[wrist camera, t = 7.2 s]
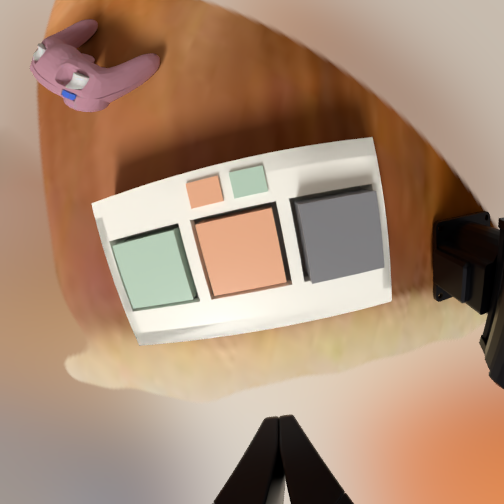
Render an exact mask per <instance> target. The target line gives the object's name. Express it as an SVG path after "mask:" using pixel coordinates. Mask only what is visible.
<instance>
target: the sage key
mask: <svg viewBox="0 0 504 504" xmlns="http://www.w3.org/2000/svg"><path fill="white" fill-rule="evenodd" d="M113 250H114V253H115V256H116V259H117V263H118V266H119V269H120V272H121V275H122V278H123V281H124V284H125V287H126V289H127V292H128V295H129V298H130V301H131V303H132V306H133V309H135V308H142V307H149V306H155V305H162V304H168V303H175V302H181V301H187V300H193V299H194V297H195V296H196V294H197V289H196V286H195V282H194V279H193V276H192V272H191V269H190V265H189V262H188V258H187V254H186V251H185V247H184V244H183V240H182V236H181V232H180V228H179V225H178V226H174V227H170V228H166V229H162V230H158V231H154V232H150V233H146V234H143V235H139V236H135V237H131V238H128V239H125V240H123V241H121V242H119V243H117V244H115V245H113Z"/></svg>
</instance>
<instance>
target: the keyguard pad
mask: <svg viewBox="0 0 504 504" xmlns="http://www.w3.org/2000/svg"><path fill="white" fill-rule="evenodd" d="M360 189H366V190H373V191H376V193H377V200H378V207H379V215H380V223H381V232H382V242H383V253H384V268H380V269H376V270H372V271H368V272H363V273H359V274H355V275H350V276H346V277H342V278H337V279H333V280H328V281H323V282H319V283H314V284H312V282H311V280H310V278H309V276H308V273H307V271H306V265H305V260H304V254H303V248H302V243H301V237H300V232H299V226H298V221H297V216H296V211H295V206H294V201H299V200H304V199H310V198H315V197H320V196H326V195H331V194H337V193H343V192H348V191H354V190H360ZM266 205H271V207H272V212H273V216H274V221H275V226H276V231H277V236H278V241H279V246H280V251H281V256H282V261H283V266H284V271H285V276H286V281H287V282H286V283H281V284H275V285H270V286H265V287H260V288H255V289H249V290H244V291H239V292H233V293H228V294H222V295H216V296H214V293H213V290H212V286H211V282H210V279H209V275H208V272H207V268H206V264H205V261H204V257H203V253H202V250H201V246H200V242H199V238H198V234H197V230H196V226H195V225H196V224H197V223H199V222H200V221H202V220H203V219H207V218H212V217H216V216H220V215H225V214H229V213H234V212H238V211H243V210H247V209H252V208H257V207H261V206H266ZM92 207H93V212H94V216H95V220H96V223H97V227H98V231H99V235H100V238H101V242H102V245H103V249H104V252H105V255H106V258H107V262H108V265H109V268H110V271H111V274H112V277H113V280H114V283H115V286H116V288H117V291H118V294H119V297H120V299H121V302H122V305H123V307H124V310H125V312H126V315H127V317H128V320H129V322H130V325H131V327H132V330H133V332H134V334H135V337H136V339H137V341H138V344H139V346H141V345H153V344H164V343H174V342H183V341H192V340H200V339H208V338H215V337H223V336H229V335H236V334H243V333H249V332H255V331H261V330H267V329H272V328H278V327H283V326H288V325H293V324H298V323H303V322H308V321H313V320H318V319H322V318H327V317H331V316H336V315H340V314H344V313H348V312H352V311H356V310H360V309H364V308H368V307H372V306H376V305H380V304H383V303H387V302H391V301H392V297H391V269H390V253H389V241H388V230H387V221H386V213H385V205H384V198H383V191H382V184H381V178H380V173H379V167H378V162H377V157H376V152H375V147H374V142H373V138H372V137H369V138H360V139H351V140H343V141H336V142H329V143H322V144H315V145H309V146H303V147H297V148H292V149H286V150H281V151H276V152H270V153H266V154H261V155H256V156H251V157H247V158H242V159H238V160H233V161H229V162H225V163H221V164H217V165H213V166H209V167H205V168H201V169H198V170H194V171H190V172H187V173H183V174H179V175H176V176H173V177H169V178H166V179H162V180H159V181H156V182H153V183H149V184H146V185H143V186H140V187H137V188H134V189H131V190H128V191H125V192H122V193H119V194H117V195H114V196H111V197H108V198H105V199H103V200H100V201H97V202H95V203H92ZM178 225H179V228H180V232H181V236H182V240H183V244H184V247H185V251H186V254H187V258H188V262H189V265H190V269H191V272H192V276H193V279H194V282H195V286H196V289H197V294H196V296H195V297H194V299H193V300H187V301H181V302H175V303H168V304H162V305H155V306H149V307H142V308H135V309H133V306H132V303H131V301H130V298H129V295H128V292H127V289H126V287H125V284H124V281H123V278H122V275H121V272H120V269H119V266H118V263H117V259H116V256H115V253H114V250H113V245H115V244H117V243H119V242H121V241H123V240H125V239H128V238H131V237H135V236H139V235H143V234H146V233H150V232H154V231H158V230H162V229H166V228H170V227H174V226H178Z"/></svg>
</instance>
